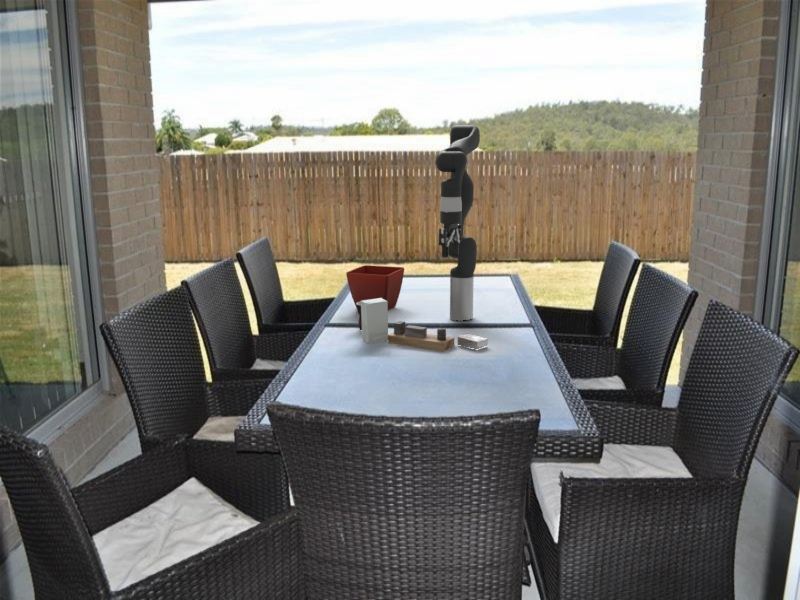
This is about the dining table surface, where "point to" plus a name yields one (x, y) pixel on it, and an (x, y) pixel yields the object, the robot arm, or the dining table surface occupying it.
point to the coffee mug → (359, 314)
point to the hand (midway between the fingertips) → (450, 255)
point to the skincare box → (374, 320)
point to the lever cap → (472, 341)
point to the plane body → (420, 337)
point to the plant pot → (376, 283)
